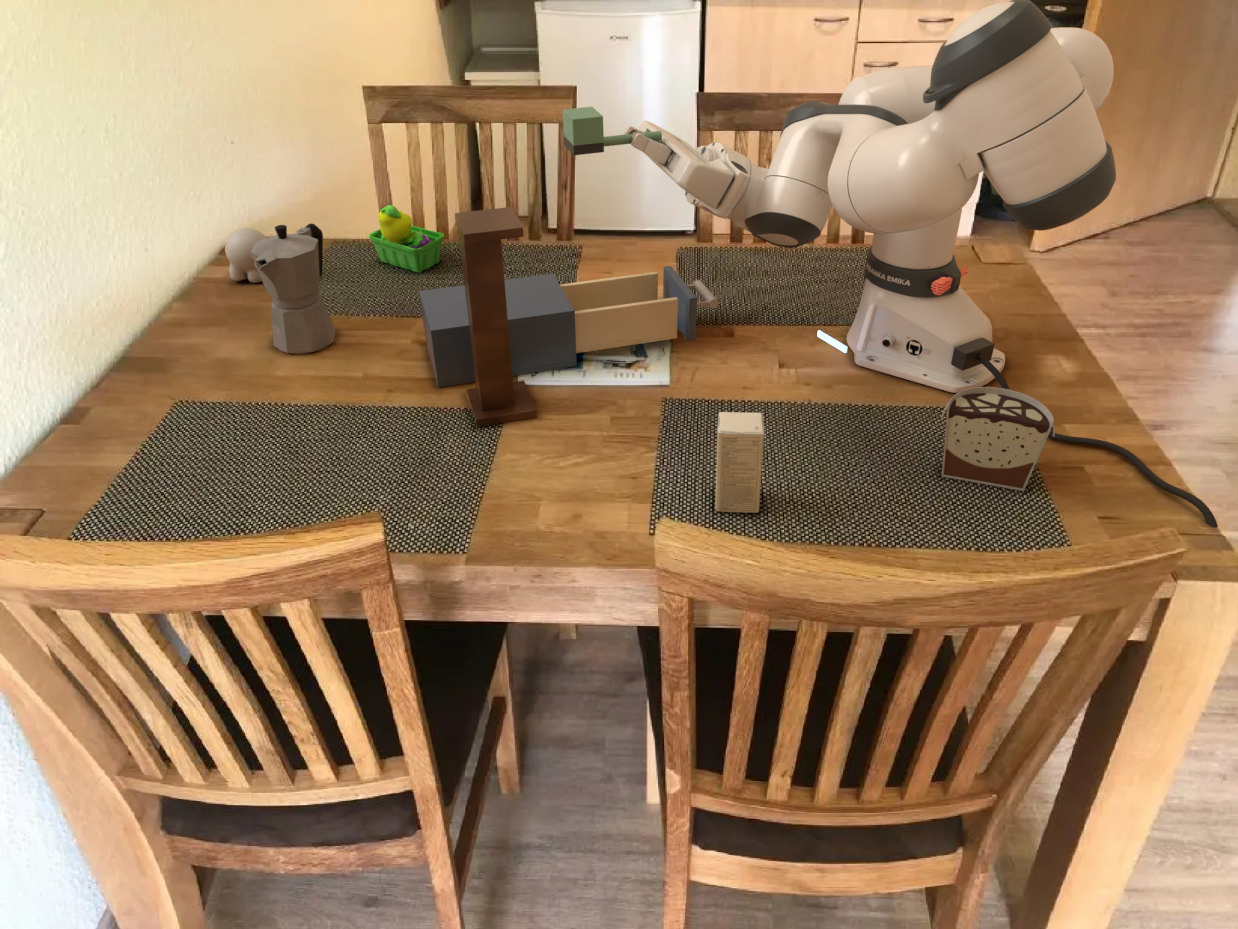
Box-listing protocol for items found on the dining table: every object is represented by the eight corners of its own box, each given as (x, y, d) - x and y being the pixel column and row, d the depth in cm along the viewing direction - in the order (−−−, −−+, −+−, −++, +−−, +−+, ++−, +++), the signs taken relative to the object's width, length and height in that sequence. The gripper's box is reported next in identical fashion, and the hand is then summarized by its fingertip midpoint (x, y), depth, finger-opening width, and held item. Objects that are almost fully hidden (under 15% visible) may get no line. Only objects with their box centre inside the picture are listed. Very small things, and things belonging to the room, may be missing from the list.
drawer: (695, 303, 153) (697, 262, 149) (722, 336, 144) (725, 293, 140) (554, 323, 148) (551, 281, 144) (572, 358, 139) (571, 315, 135)
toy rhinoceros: (293, 289, 161) (282, 240, 156) (224, 285, 163) (212, 236, 158) (310, 271, 167) (300, 223, 162) (244, 267, 168) (232, 220, 164)
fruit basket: (449, 261, 170) (442, 198, 163) (415, 280, 164) (406, 215, 157) (400, 248, 175) (391, 186, 168) (365, 265, 169) (354, 202, 162)
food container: (1037, 464, 119) (1058, 394, 113) (1037, 493, 114) (1059, 421, 108) (932, 446, 122) (947, 377, 116) (928, 474, 117) (943, 403, 111)
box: (758, 491, 115) (765, 412, 108) (759, 514, 111) (766, 433, 105) (713, 489, 115) (718, 410, 109) (712, 512, 112) (717, 431, 105)
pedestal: (524, 387, 135) (510, 204, 120) (537, 417, 128) (524, 228, 113) (466, 396, 133) (445, 212, 118) (476, 427, 127) (455, 236, 111)
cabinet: (556, 326, 149) (553, 273, 144) (576, 366, 139) (574, 310, 134) (426, 345, 145) (418, 290, 140) (438, 387, 135) (430, 330, 130)
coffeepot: (308, 365, 140) (282, 247, 130) (252, 356, 143) (222, 239, 132) (362, 318, 152) (342, 206, 142) (310, 310, 155) (286, 200, 144)
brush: (573, 155, 124) (572, 119, 121) (564, 144, 128) (562, 109, 125) (666, 145, 127) (667, 109, 124) (654, 135, 130) (654, 100, 128)
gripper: (697, 135, 141) (617, 92, 134) (755, 179, 125) (667, 134, 118) (676, 174, 143) (596, 135, 136) (730, 223, 127) (642, 181, 120)
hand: (630, 135), depth 127 cm, fingers closed on brush
